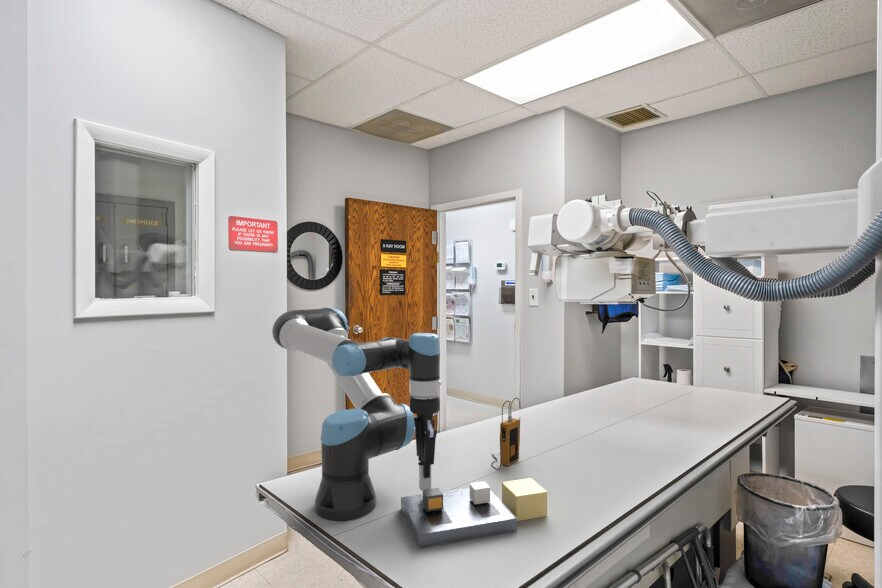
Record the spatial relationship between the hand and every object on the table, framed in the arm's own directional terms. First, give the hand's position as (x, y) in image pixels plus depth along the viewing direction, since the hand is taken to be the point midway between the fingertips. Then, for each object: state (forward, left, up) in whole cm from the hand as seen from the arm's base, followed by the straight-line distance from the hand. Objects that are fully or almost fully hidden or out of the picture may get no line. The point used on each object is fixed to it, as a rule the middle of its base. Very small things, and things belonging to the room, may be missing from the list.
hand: (425, 488), depth 118 cm
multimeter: (+31, +23, -5) cm, 39 cm away
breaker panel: (+5, -8, -5) cm, 11 cm away
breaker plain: (+12, -7, -2) cm, 14 cm away
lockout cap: (+23, -9, -5) cm, 25 cm away
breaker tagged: (0, -7, -2) cm, 7 cm away
